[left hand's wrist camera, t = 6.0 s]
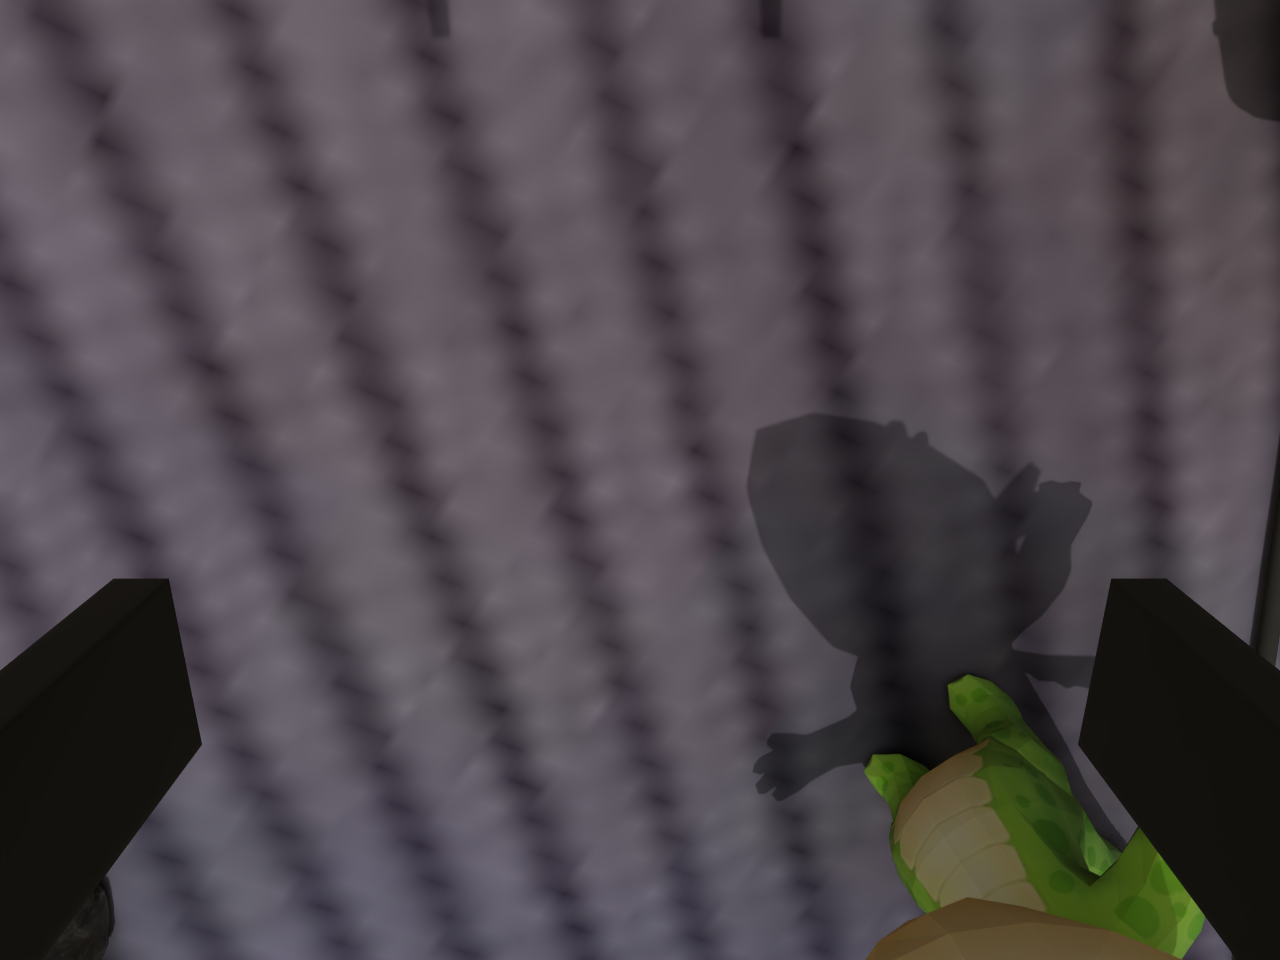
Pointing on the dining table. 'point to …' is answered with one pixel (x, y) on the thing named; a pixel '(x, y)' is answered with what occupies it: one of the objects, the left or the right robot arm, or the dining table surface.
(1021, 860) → the toy
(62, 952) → the rock
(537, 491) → the dining table surface
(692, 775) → the dining table surface
